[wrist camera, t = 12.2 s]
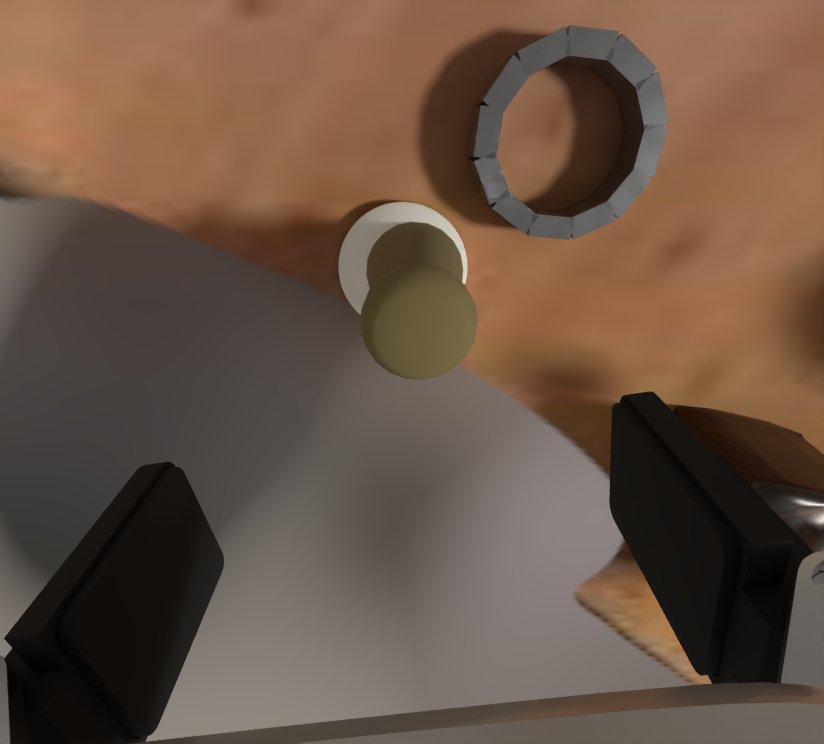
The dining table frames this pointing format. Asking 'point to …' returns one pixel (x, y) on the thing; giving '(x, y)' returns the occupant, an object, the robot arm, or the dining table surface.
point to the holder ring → (638, 146)
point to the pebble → (371, 230)
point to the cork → (417, 303)
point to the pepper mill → (768, 465)
